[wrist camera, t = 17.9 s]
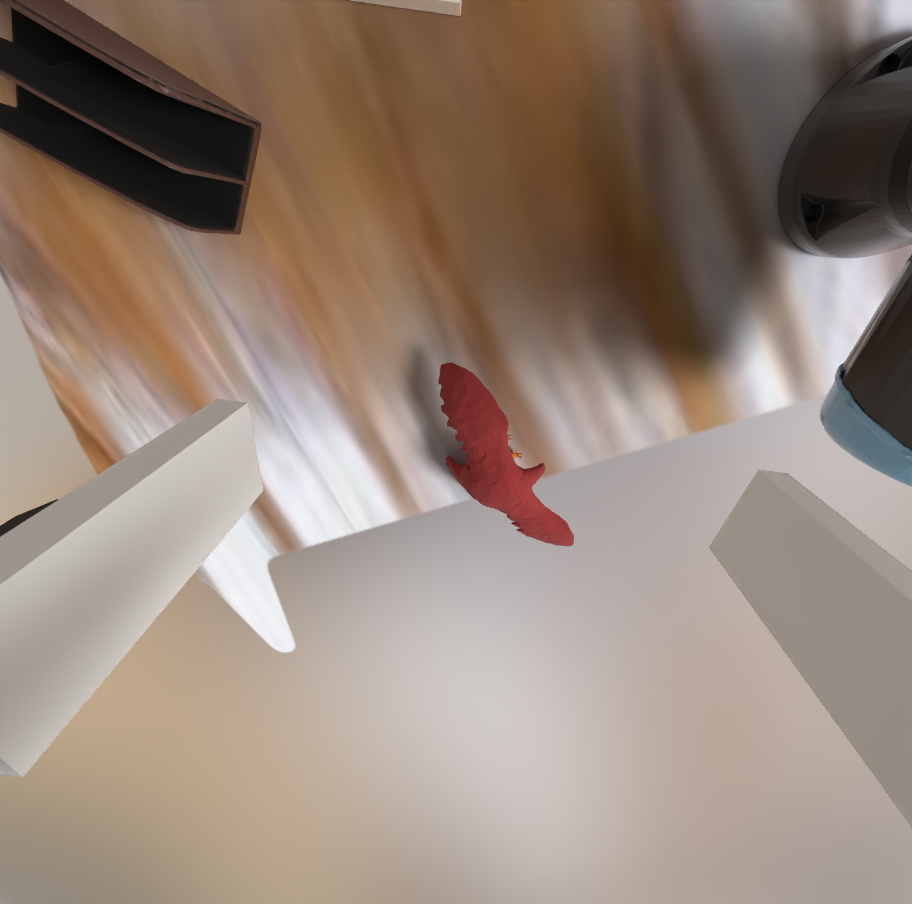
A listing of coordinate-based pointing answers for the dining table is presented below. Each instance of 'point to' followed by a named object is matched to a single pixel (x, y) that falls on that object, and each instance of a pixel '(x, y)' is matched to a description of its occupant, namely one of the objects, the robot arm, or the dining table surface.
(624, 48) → the dining table surface
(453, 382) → the red winged figure
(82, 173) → the letter holder
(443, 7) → the display stand
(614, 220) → the dining table surface
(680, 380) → the dining table surface
